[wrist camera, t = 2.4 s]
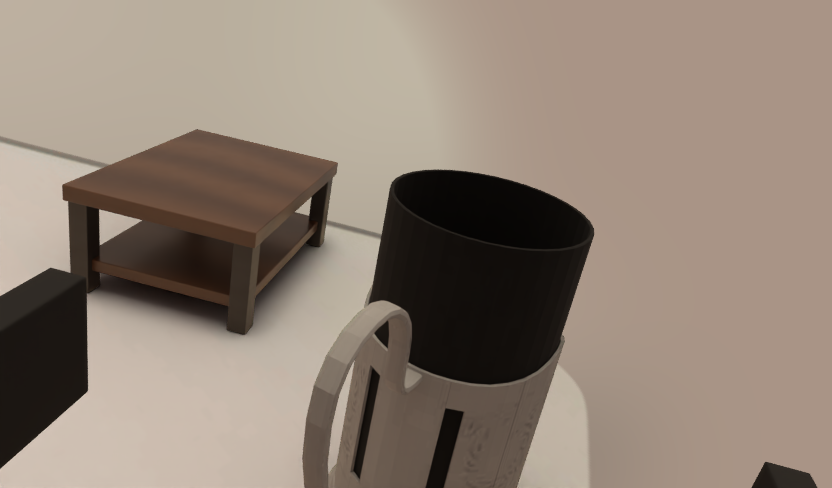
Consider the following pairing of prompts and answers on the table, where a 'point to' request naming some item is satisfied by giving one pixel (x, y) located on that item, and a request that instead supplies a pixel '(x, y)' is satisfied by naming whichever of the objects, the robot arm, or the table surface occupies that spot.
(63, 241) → the table surface
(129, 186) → the miniature coffee table
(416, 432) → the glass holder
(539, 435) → the table surface
